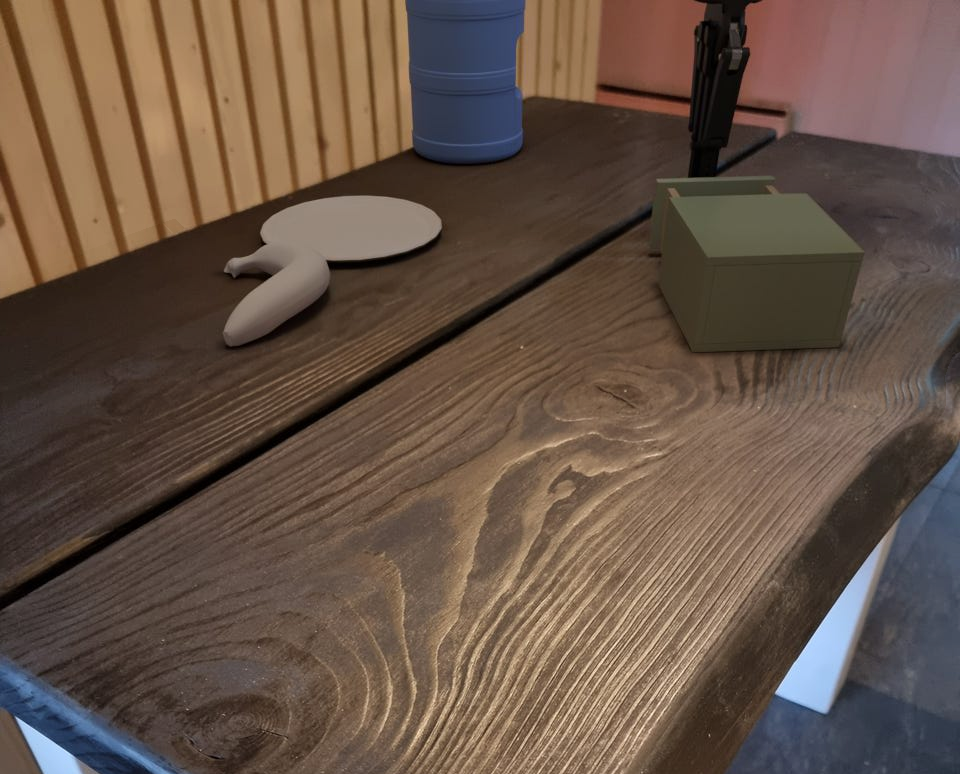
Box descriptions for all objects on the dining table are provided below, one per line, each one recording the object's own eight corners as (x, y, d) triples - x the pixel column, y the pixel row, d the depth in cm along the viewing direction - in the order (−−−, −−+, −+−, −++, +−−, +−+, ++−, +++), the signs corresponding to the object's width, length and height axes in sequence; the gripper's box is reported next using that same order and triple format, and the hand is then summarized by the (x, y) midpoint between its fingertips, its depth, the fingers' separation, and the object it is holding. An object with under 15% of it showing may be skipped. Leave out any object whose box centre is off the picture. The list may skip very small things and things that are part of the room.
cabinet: (657, 285, 95) (668, 197, 90) (787, 280, 96) (806, 193, 90) (692, 352, 84) (707, 256, 78) (839, 347, 84) (865, 251, 79)
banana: (274, 355, 84) (137, 335, 88) (360, 286, 98) (239, 271, 101) (266, 302, 81) (124, 283, 84) (357, 238, 95) (231, 224, 98)
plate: (313, 198, 117) (311, 187, 116) (467, 215, 111) (467, 204, 110) (227, 256, 102) (224, 245, 101) (400, 279, 97) (399, 267, 96)
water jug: (463, 173, 123) (458, -93, 104) (390, 149, 132) (373, -101, 113) (545, 150, 131) (554, -102, 112) (471, 128, 140) (468, -109, 121)
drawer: (640, 231, 104) (647, 166, 100) (749, 228, 105) (760, 163, 100) (676, 298, 91) (686, 227, 86) (801, 294, 91) (817, 223, 86)
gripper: (680, -58, 93) (652, 192, 109) (711, -40, 83) (676, 231, 99) (754, -59, 93) (715, 190, 109) (793, -42, 83) (745, 229, 99)
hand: (696, 210), depth 104 cm, fingers closed
